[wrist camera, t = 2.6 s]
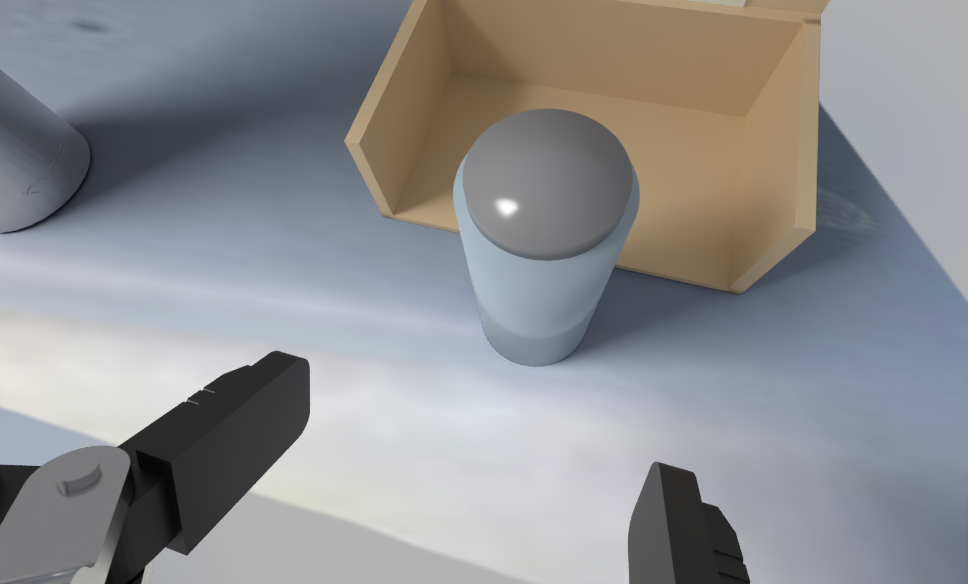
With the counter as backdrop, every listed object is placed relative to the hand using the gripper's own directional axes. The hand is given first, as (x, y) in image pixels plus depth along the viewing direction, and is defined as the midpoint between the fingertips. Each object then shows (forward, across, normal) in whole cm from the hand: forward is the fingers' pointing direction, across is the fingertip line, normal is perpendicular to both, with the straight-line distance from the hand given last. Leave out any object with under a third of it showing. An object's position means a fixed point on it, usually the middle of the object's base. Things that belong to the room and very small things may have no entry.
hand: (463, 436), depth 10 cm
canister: (+15, 0, +4) cm, 16 cm away
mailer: (+23, 0, -3) cm, 23 cm away
